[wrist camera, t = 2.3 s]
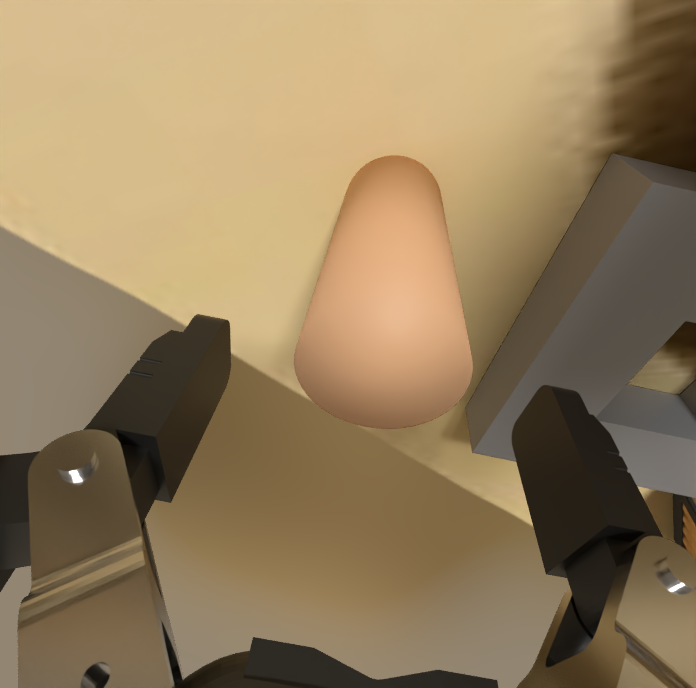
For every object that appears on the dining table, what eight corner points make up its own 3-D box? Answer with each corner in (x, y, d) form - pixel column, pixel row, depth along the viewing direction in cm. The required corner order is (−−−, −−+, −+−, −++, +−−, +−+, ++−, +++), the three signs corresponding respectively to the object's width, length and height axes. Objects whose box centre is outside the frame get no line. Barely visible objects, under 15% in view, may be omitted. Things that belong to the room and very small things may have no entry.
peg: (354, 145, 17) (303, 279, 8) (455, 167, 17) (504, 322, 9) (337, 240, 20) (287, 410, 11) (424, 258, 20) (438, 441, 11)
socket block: (611, 153, 16) (653, 181, 13) (984, 238, 16) (1097, 282, 14) (465, 407, 26) (472, 452, 24) (696, 455, 27) (728, 504, 24)
